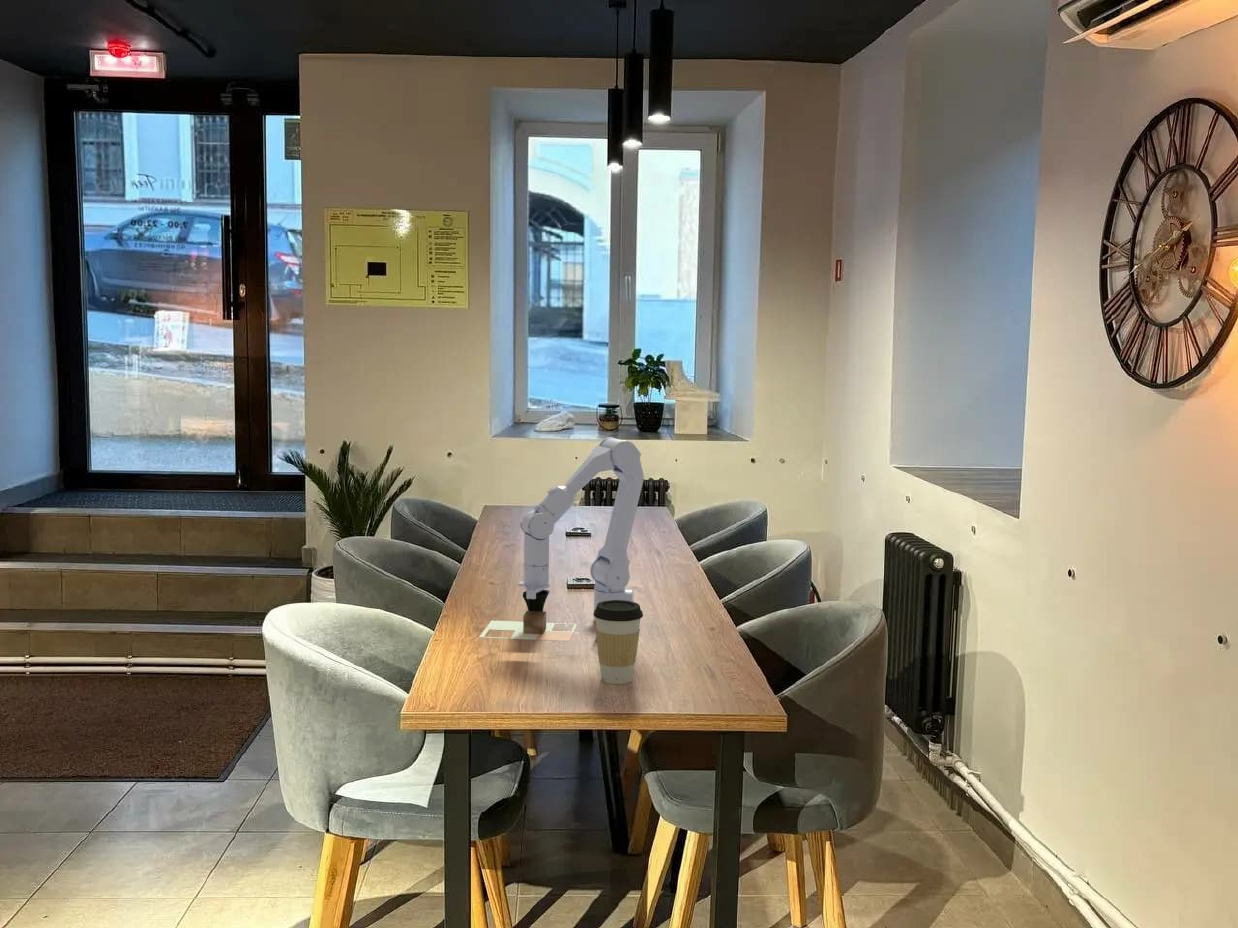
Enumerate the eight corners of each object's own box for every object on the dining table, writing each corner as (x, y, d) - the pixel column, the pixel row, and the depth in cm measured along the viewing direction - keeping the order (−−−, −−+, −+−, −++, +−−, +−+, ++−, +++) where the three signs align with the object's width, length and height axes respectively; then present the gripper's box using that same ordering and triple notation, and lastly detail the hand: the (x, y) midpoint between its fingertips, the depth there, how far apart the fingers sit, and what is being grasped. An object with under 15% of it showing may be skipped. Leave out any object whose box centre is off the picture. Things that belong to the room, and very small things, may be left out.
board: (576, 630, 244) (576, 623, 244) (569, 647, 231) (569, 640, 230) (491, 626, 246) (491, 620, 246) (478, 643, 232) (478, 637, 232)
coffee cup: (640, 671, 215) (641, 599, 213) (642, 687, 205) (644, 611, 203) (591, 671, 215) (593, 598, 213) (592, 686, 205) (593, 611, 203)
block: (546, 628, 240) (546, 611, 239) (543, 634, 235) (543, 616, 235) (526, 627, 240) (526, 610, 240) (523, 633, 236) (523, 615, 235)
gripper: (524, 556, 247) (523, 613, 249) (513, 570, 233) (512, 630, 234) (554, 558, 247) (553, 614, 248) (544, 571, 232) (544, 631, 234)
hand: (535, 622), depth 241 cm, fingers closed
